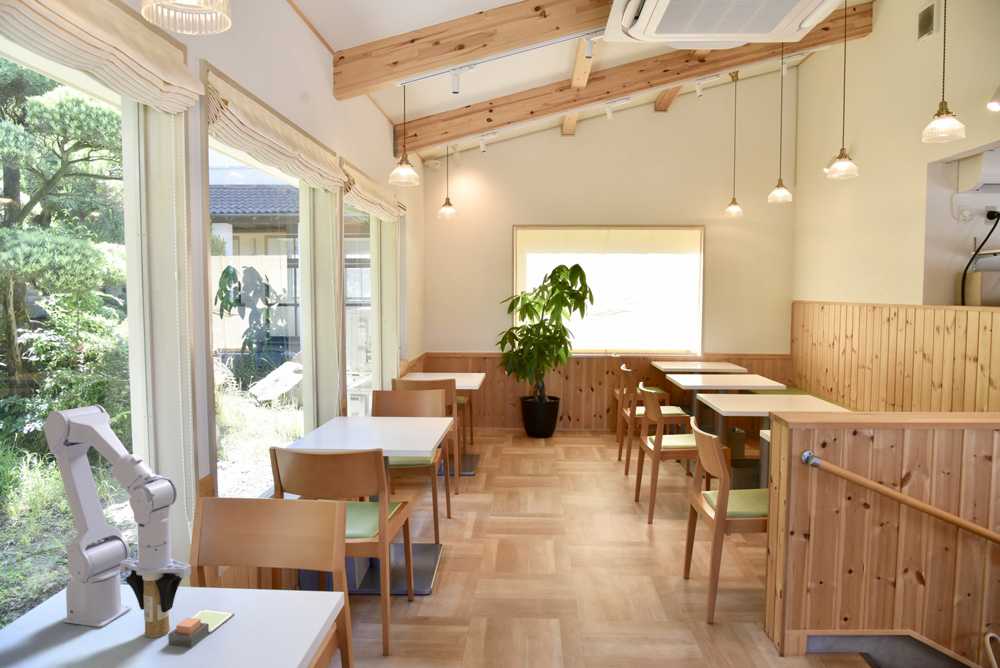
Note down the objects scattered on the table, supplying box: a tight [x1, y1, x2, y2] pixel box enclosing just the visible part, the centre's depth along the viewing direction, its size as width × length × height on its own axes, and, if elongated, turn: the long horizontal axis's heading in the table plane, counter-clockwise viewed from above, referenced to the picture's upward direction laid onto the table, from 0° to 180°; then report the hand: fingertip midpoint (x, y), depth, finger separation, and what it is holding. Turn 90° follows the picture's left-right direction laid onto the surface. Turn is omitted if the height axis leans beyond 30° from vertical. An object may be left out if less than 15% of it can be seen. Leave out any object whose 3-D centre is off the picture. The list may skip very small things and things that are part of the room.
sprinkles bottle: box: [142, 573, 171, 639], centre depth 125 cm, size 5×5×14 cm
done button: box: [175, 617, 201, 635], centre depth 122 cm, size 3×3×2 cm
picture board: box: [191, 609, 235, 635], centre depth 129 cm, size 8×8×1 cm
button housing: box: [167, 623, 210, 649], centre depth 123 cm, size 5×5×2 cm
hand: (156, 608), depth 125 cm, fingers closed on sprinkles bottle, 4 cm apart
